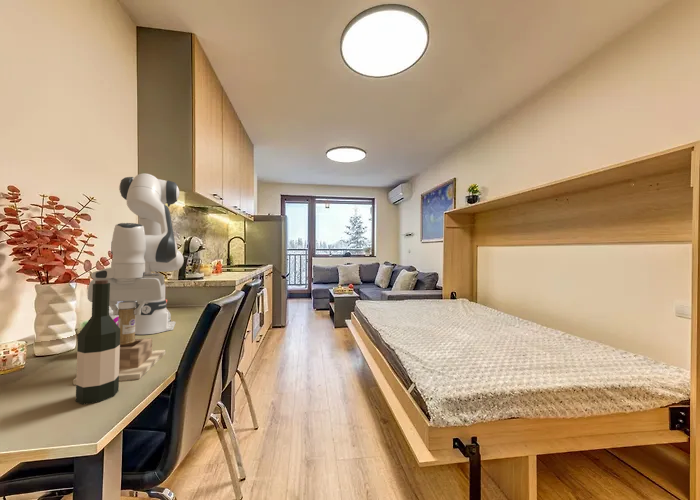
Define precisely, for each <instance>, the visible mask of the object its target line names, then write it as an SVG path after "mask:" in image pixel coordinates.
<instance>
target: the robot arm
mask: <svg viewBox="0 0 700 500" xmlns="http://www.w3.org/2000/svg"><path fill="white" fill-rule="evenodd" d="M118 190H119V193H120V197H122V198H123V199H124V200H125V201H126V205H127V208H128V209H129V210H130V211H131V212H132V213H133V214H135V215H136V216H138V223H137V222H136V223H134V222H126V223H125V222H120V223H117V224H115V225H114V228H113V229H114V230H113V234H112V240H111V247H110V248H111V249H110V253H111V255H112V259H111V261H110V262H111V263H110V267H106V268H104V269H100V270H95V271H93V272H92V273H91V275H90V276H91V279H92V280H90V282H89V284H88V288H87V300H88V301H89V302H90V303H92V293H93V284H95V281H96V280H108V283H110V300H109V308H111V309H110V310H113V316H116V315H119V308H118V306H117V304H118V302H124V301H135V302H136V307H135V309H134V315H135V335H153V334H158V333H163V332H167V331H172V330H173V331H174V328H175V326H176V321H174V320H173V321H172V320H171V315H172V314H171V312H170V310H168V308H167V303H168V299H166V287H167V286H166V283H165V275H164V274H162V273H160V272H173V271H178V270H180V269H182V267H183V265H184V262H185V261H184V260H185V259H184V255H183V254H182V252H181V251H180V250H178V244H177V241H176V238H175V235H174V228H173V227H174V226H173V221H172V217H171V212H170V209H169V207H170V206H171V205H173V204H174V205H175V203H176V202H177V201H178V200H179V198H180V195H181V194H180V188H179V187H178V184H177V183H176V182H175V181H171V180H168V179H167V180H164V179H160V178H157V177H156V176H155V175H153V174H150V173H145V172H144V173H139V174H137V175H136V176H127V177H124V178H122V179H120V183H119V186H118ZM166 204H167V205H166Z"/></svg>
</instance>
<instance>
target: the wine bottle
mask: <svg viewBox="0 0 700 500" xmlns="http://www.w3.org/2000/svg"><path fill="white" fill-rule="evenodd" d="M109 300H110V283H108V280H96V281H95V284H93V293H92V302H91V317H90V318H89V319H88V321H87V322H86V323H85V325H84V326H83V328H82V329H81V330H80V331H79V332H78V334H77V352H76V355H77V356H76V377H75V378H76V385H75V402H76V403H79V404H81V405H90V404H96V403H100V402H103V401H106V400H108V399H111V398H113V397H115V396H116V395H117V393H118V392H119V385H120V381H119V358H120V328H119V327H118V325H117V324H116V323H115V322H114V320H113V319H112V318H111V317H110V315H109V310H110V306H109Z"/></svg>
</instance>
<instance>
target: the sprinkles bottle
mask: <svg viewBox="0 0 700 500" xmlns="http://www.w3.org/2000/svg"><path fill="white" fill-rule="evenodd" d="M136 302H137V301H118V302H117V304H118V306H117V308H118V309H119V318H118V327H119V328H120V345H126V344H131V343H134V342H135V339H136V334H135V315H134V309H135V307H136Z"/></svg>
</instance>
